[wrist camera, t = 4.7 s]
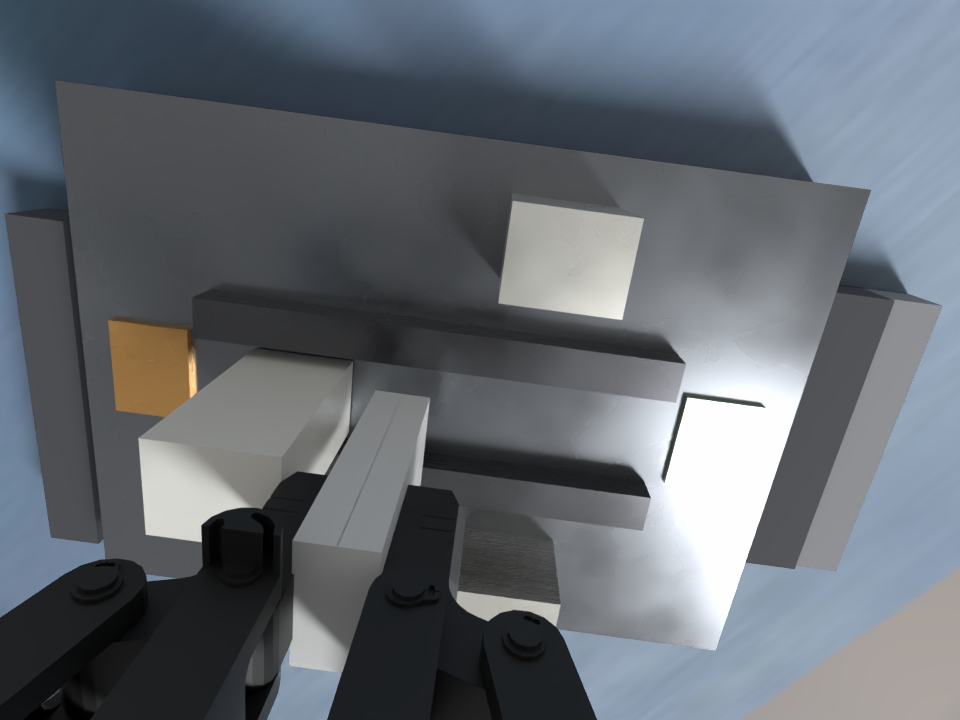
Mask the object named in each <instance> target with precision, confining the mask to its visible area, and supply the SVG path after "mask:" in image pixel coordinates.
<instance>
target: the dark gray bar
mask: <svg viewBox="0 0 960 720" xmlns="http://www.w3.org/2000/svg"><path fill="white" fill-rule="evenodd" d="M5 218H6V225H7V232H8V239H9V246H10V253H11V260H12V267H13V274H14V281H15V288H16V295H17V302H18V309H19V316H20V323H21V330H22V337H23V344H24V351H25V358H26V365H27V372H28V379H29V386H30V393H31V400H32V407H33V415H34V422H35V429H36V436H37V443H38V450H39V457H40V464H41V471H42V478H43V485H44V492H45V499H46V506H47V513H48V520H49V527H50V534H51V537H52V538H59V539H67V540H74V541H82V542H89V543H97V544H99V543H100V542H101V541H102V540H103V539H104V538H103V529H102V520H101V510H100V501H99V491H98V482H97V473H96V463H95V454H94V445H93V435H92V426H91V416H90V407H89V398H88V388H87V379H86V369H85V360H84V351H83V341H82V332H81V323H80V313H79V304H78V294H77V285H76V276H75V266H74V257H73V247H72V238H71V229H70V219H69V211H61V210H54V209H41V210H33V211H24V212H16V213H7V214H5Z"/></svg>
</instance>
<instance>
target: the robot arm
mask: <svg viewBox="0 0 960 720" xmlns="http://www.w3.org/2000/svg"><path fill="white" fill-rule="evenodd" d="M429 403H430V398H429V397H422V396H414V395H407V394H400V393H392V392H385V391H377V390H376V391H375V392H374V394H373V396H372V398H371V400H370V401H369V403H368V405H367V407H366V409H365V410H364V412H363V414H362V416H361V418H360V420H359V421H358V423H357V425H356V427H355V429H354V430H353V432H352V434H351V436H350V438H349V439H348V441H347V443H346V445H345V447H344V448H343V450H342V452H341V454H340V456H339V457H338V459H337V461H336V463H335V465H334V466H333V468H332V470H331V472H330V474H329V475H321V474H314V473H307V472H299V471H297V472H296V473H294V474H292V475H291V476H289V477H288V478H286V479H284V480H283V481H281V482H280V483H279V485H278V486H277V487H276V489H275V490H274V492H273V493H272V495H271V496H270V499H268V500H267V502H266V503H265V505H264V506H263V509H260V508H236V509H231V510H226V511H223V512H221V513H219V514H217V515H214V516H212V517H210V518H209V519H208V520H207V521H206V522H204V523H203V524H202V525H201V537H202V563H203V566H202V568H201V569H200V570H199V572H198V573H197V575H194V576H190V577H185V578H179V579H169V580H159V581H148V582H147V579H146V574H145V572H144V569H143V567H142V566H140V565H138V564H137V563H135V562H134V561H130V560H124V559H118V558H116V559H105V560H98V561H95V562H91V563H88V564H84V565H81V566H79V567H77V568H75V569H74V570H72V571H70V572H68V573H66V574H64V575H63V576H61V577H60V578H58V579H57V580H55V581H54V582H52V583H51V584H49V585H48V586H46V587H45V588H43V589H42V590H41V591H39V592H38V593H36V594H35V595H33V596H32V597H30V598H29V599H27V600H26V601H24V602H23V603H21V604H20V605H18V606H17V607H15V608H14V609H12V610H11V611H9V612H8V613H7V614H5V615H4V616H2V617H1V618H0V720H267V718H268V715H269V713H270V711H271V708H272V706H273V704H274V701H275V699H276V696H277V694H278V690H279V685H280V671H281V664H282V662H283V659H284V657H285V655H286V652H287V650H288V648H289V646H290V661H289V666H294V667H302V668H309V669H317V670H324V671H332V672H339V673H342V675H341V678H340V681H339V684H338V688H337V691H336V694H335V697H334V700H333V703H332V706H331V709H330V713H329V716H328V719H327V720H597V718H596V716H595V713H594V711H593V709H592V706H591V704H590V701H589V699H588V696H587V694H586V692H585V689H584V687H583V684H582V682H581V679H580V677H579V674H578V672H577V670H576V667H575V665H574V662H573V660H572V657H571V655H570V653H569V650H568V648H567V645H566V643H565V640H564V638H563V637H562V635H561V634H560V632H559V631H558V629H557V628H556V626H554V625H553V624H552V623H551V622H549V621H548V620H547V619H546V618H544V617H542V616H540V615H537V614H535V613H532V612H530V611H521V610H511V611H506V612H501V613H499V614H498V615H496V616H495V617H493V618H492V619H490V620H489V621H486V620H484V619H482V618H479V617H477V616H475V615H473V614H471V613H469V612H467V611H466V610H465V609H464V608H462V607H461V606H460V605H459V604H458V603H457V602H456V600H455V599H454V598H453V596H452V594H451V591H450V589H449V576H450V569H451V561H452V554H453V546H454V539H455V531H456V524H457V517H458V509H459V503H458V501H457V500H456V498H455V496H454V494H453V492H452V490H445V489H438V488H430V487H423V486H420V485H421V477H422V467H423V458H424V449H425V440H426V430H427V421H428V412H429ZM59 688H60V691H59V692H58V693H57V694H56V695H55V696H54V697H53V698H51V699H49V700H48V701H46V700H47V699H48V698H49V697H50V696H51V695H52V694H54V693H55V692H56V691H57V690H58V689H59ZM44 701H46V702H45V703H43V702H44ZM42 703H43V704H42Z"/></svg>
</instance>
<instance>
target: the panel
mask: <svg viewBox="0 0 960 720" xmlns="http://www.w3.org/2000/svg"><path fill="white" fill-rule="evenodd" d="M55 88H56V97H57V107H58V116H59V125H60V135H61V144H62V154H63V163H64V172H65V182H66V191H67V200H68V210H69V219H70V229H71V238H72V247H73V257H74V266H75V276H76V285H77V294H78V304H79V313H80V323H81V332H82V341H83V351H84V360H85V369H86V379H87V388H88V398H89V407H90V416H91V426H92V435H93V445H94V454H95V463H96V473H97V482H98V491H99V501H100V510H101V520H102V529H103V538H104V548H105V557H106V559H116V558H118V559H124V560H130V561H134V562H135V563H137V564H138V565H140V566H142V567H143V569H144V572H145V574H149V575H157V576H164V577H172V578H185V577H190V576H194V575H197V573H198V572H199V570H200V569H201V568H202V566H203V563H202V542H197V541H190V540H182V539H175V538H167V537H160V536H152V535H146V530H145V517H144V504H143V492H142V479H141V466H140V453H139V440H138V438H139V437H141V436H142V435H143V434H144V433H146V432H147V431H148V430H150V429H151V428H152V427H153V426H155V425H156V424H157V423H159V422H160V421H161V420H163V419H164V418H165V417H166V416H168V415H169V414H170V413H172V412H173V411H174V410H176V409H177V408H178V407H179V406H181V405H182V404H183V403H185V402H186V401H187V400H189V399H190V398H191V397H192V396H194V395H195V394H196V393H198V392H199V391H200V390H202V389H203V388H204V387H205V386H207V385H208V384H209V383H211V382H212V381H213V380H215V379H216V378H217V377H218V376H220V375H221V374H222V373H224V372H225V371H226V370H227V369H229V368H230V367H231V366H233V365H234V364H235V363H237V362H238V361H239V360H240V359H242V358H243V357H244V356H246V355H247V354H248V353H250V352H251V351H252V350H253V349H255V348H259V349H266V350H273V351H281V352H288V353H296V354H303V355H311V356H318V357H326V358H333V359H341V360H348V361H353V372H352V389H351V407H350V424H349V433H348V434H347V436H346V438H345V440H344V441H343V443H342V445H341V447H340V448H339V450H338V452H337V454H336V456H335V457H334V459H333V461H332V463H331V464H330V466H329V468H328V470H327V471H326V473H325V475H329V474H330V472H331V470H332V468H333V466H334V465H335V463H336V461H337V459H338V457H339V456H340V454H341V452H342V450H343V448H344V447H345V445H346V443H347V441H348V439H349V438H350V436H351V434H352V432H353V430H354V429H355V427H356V425H357V423H358V421H359V420H360V418H361V416H362V414H363V412H364V410H365V409H366V407H367V405H368V403H369V401H370V400H371V398H372V396H373V394H374V392H375V391H376V390H377V391H385V392H392V393H400V394H407V395H414V396H422V397H429V398H430V403H429V412H428V421H427V430H426V440H425V449H424V458H423V467H422V477H421V485H420V486H423V487H430V488H438V489H445V490H452V492H453V494H454V496H455V498H456V500H457V501H458V503H459V509H458V517H457V524H456V531H455V539H454V546H453V554H452V561H451V569H450V576H449V589H450V591H451V594H452V596H453V598H454V599H455V600H456V602H457V603H458V604H459V605H460V606H461V607H462V608H464V609H465V610H466V611H467V612H469V613H471V614H473V615H475V616H477V617H479V618H482V619H484V620H486V621H489V620H490V619H492V618H493V617H495V616H496V615H498V614H499V613H501V612H506V611H511V610H521V611H530V612H532V613H535V614H537V615H540V616H542V617H544V618H546V619H547V620H548V621H549V622H551V623H552V624H553V625H554V626H556V628H557V629H560V630H568V631H575V632H583V633H590V634H597V635H605V636H612V637H620V638H627V639H635V640H642V641H650V642H657V643H665V644H672V645H680V646H687V647H695V648H702V649H709V650H716V647H717V644H718V641H719V638H720V635H721V633H722V630H723V627H724V624H725V621H726V618H727V615H728V612H729V609H730V606H731V603H732V600H733V597H734V594H735V591H736V588H737V585H738V582H739V579H740V576H741V573H742V570H743V567H744V564H745V561H746V559H747V556H748V553H749V550H750V547H751V544H752V541H753V538H754V535H755V532H756V529H757V526H758V523H759V520H760V517H761V514H762V511H763V508H764V505H765V502H766V499H767V496H768V493H769V490H770V488H771V485H772V482H773V479H774V476H775V473H776V470H777V467H778V464H779V461H780V458H781V455H782V452H783V449H784V446H785V443H786V440H787V437H788V434H789V431H790V428H791V425H792V422H793V419H794V416H795V414H796V411H797V408H798V405H799V402H800V399H801V396H802V393H803V390H804V387H805V384H806V381H807V378H808V375H809V372H810V369H811V366H812V363H813V360H814V357H815V354H816V351H817V348H818V345H819V342H820V340H821V337H822V334H823V331H824V328H825V325H826V322H827V319H828V316H829V313H830V310H831V307H832V304H833V301H834V298H835V295H836V292H837V289H838V286H839V283H840V280H841V277H842V274H843V271H844V269H845V266H846V263H847V260H848V257H849V254H850V251H851V248H852V245H853V242H854V239H855V236H856V233H857V230H858V227H859V224H860V221H861V218H862V215H863V212H864V209H865V206H866V203H867V200H868V197H869V195H870V192H871V190H867V189H860V188H852V187H845V186H838V185H830V184H823V183H815V182H808V181H800V180H793V179H786V178H778V177H771V176H763V175H756V174H748V173H741V172H734V171H726V170H719V169H711V168H704V167H696V166H689V165H682V164H674V163H667V162H659V161H652V160H644V159H637V158H630V157H622V156H615V155H607V154H600V153H592V152H585V151H578V150H570V149H563V148H555V147H548V146H540V145H533V144H526V143H518V142H511V141H503V140H496V139H488V138H481V137H474V136H466V135H459V134H451V133H444V132H436V131H429V130H421V129H414V128H407V127H399V126H392V125H384V124H377V123H369V122H362V121H355V120H347V119H340V118H332V117H325V116H317V115H310V114H303V113H295V112H288V111H280V110H273V109H265V108H258V107H251V106H243V105H236V104H228V103H221V102H213V101H206V100H199V99H191V98H184V97H176V96H169V95H161V94H154V93H147V92H139V91H132V90H124V89H117V88H109V87H102V86H95V85H87V84H80V83H72V82H65V81H57V80H55Z"/></svg>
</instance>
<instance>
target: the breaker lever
mask: <svg viewBox="0 0 960 720" xmlns="http://www.w3.org/2000/svg"><path fill="white" fill-rule="evenodd" d="M352 372H353V361H348V360H341V359H333V358H326V357H318V356H311V355H303V354H296V353H288V352H281V351H273V350H266V349H259V348H255V349H253V350H252V351H251V352H250V353H248V354H247V355H246V356H244V357H243V358H242V359H240V360H239V361H238V362H237V363H235V364H234V365H233V366H231V367H230V368H229V369H227V370H226V371H225V372H224V373H222V374H221V375H220V376H218V377H217V378H216V379H215V380H213V381H212V382H211V383H209V384H208V385H207V386H205V387H204V388H203V389H202V390H200V391H199V392H198V393H196V394H195V395H194V396H192V397H191V398H190V399H189V400H187V401H186V402H185V403H183V404H182V405H181V406H179V407H178V408H177V409H176V410H174V411H173V412H172V413H170V414H169V415H168V416H166V417H165V418H164V419H163V420H161V421H160V422H159V423H157V424H156V425H155V426H153V427H152V428H151V429H150V430H148V431H147V432H146V433H144V434H143V435H142V436H141V437H139V438H138V440H139V453H140V466H141V479H142V492H143V504H144V517H145V530H146V535H152V536H160V537H167V538H175V539H182V540H190V541H197V542H202V537H201V525H202V524H203V523H204V522H206V521H207V520H208V519H209V518H210V517H212V516H214V515H217V514H219V513H221V512H223V511H226V510H231V509H236V508H260V509H263V506H264V505H265V503H266V502H267V500H268V499H270V496H271V495H272V493H273V492H274V490H275V489H276V487H277V486H278V485H279V483H280V482H281V481H283V480H284V479H286V478H288V477H289V476H291V475H292V474H294V473H296V472H297V471H299V472H307V473H314V474H321V475H325V473H326V471H327V470H328V468H329V466H330V464H331V463H332V461H333V459H334V457H335V456H336V454H337V452H338V450H339V448H340V447H341V445H342V443H343V441H344V440H345V438H346V436H347V434H348V433H349V424H350V407H351V389H352Z"/></svg>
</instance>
